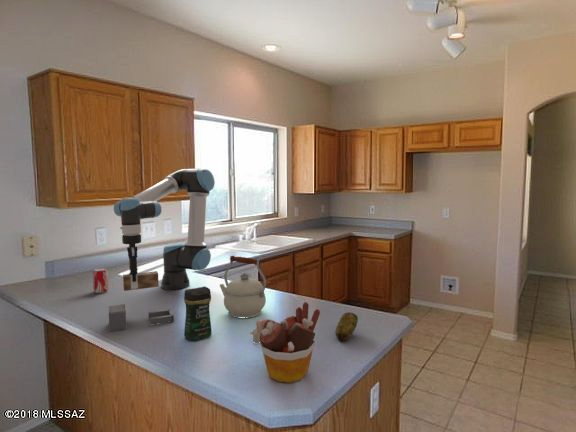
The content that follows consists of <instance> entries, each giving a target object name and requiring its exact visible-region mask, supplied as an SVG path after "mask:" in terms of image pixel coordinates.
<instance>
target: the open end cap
mask: <svg viewBox="0 0 576 432" xmlns="http://www.w3.org/2000/svg"><path fill="white" fill-rule="evenodd" d="M147 314H148V319H149V322H150V325H151V324H154V325H158V324H157V323H161V324H164V323H163V322H167V323H169V322H168V321H174V320H175V318H174V317H175V316H174V314H173V311H172V310H171V308H170V309H169V308H168V309H163V310H162V309H161V310H153V311H148V313H147ZM174 322H175V321H174Z"/></svg>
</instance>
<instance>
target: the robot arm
mask: <svg viewBox="0 0 576 432" xmlns="http://www.w3.org/2000/svg"><path fill="white" fill-rule="evenodd" d="M215 184H216V182H215V177H214V175H213V173H212V171H211V170H209V169H207V168H183V169H179V170H177V171H175V172H172V173H170V174H168V175H167V176H165V177H163V180H160V182H158V183H155V184H154V185H152V186H150V187H148V188H147V189H144V190H143V191H141V192H139V193H137V194H135V195H133V196H132V197H128V198H127V197H126V198H122V199H120V200H118V201H116V202H115V203H114V205H113V212H114V214H115V216H117V217H120V218H121V219H120V220H121V226H120V228H119V229H120V230H121V234H122V235H121V240H122V244H123V245H128V247H126V251H127V256H128V260H129V261H128V262H129V265H128V266H129V273H128V274H129V275H130V277H131V289H136V290H138V289H137V288H138V279H137V273H139V272H138V262H137V258H138V246H136V245H137V244H140V243H142V234H141V233H142V228H141V227H142V226H141V220H144V219H145V220H146V219H151V218H152V219H154V218H157V217H159V216H160V215H162V205H161V204H160V202H158V201H159V200H161V199H163V198H165V197H166V196H168V195H170V194H175V193H177V192H179V191H180V192H181V191H186V193H187V195H188V196H189V209H188V225H187V226H188V229H187V241H186V242H185V243H176V244H175V243H174V244H169V245H166V246H164V248H163V253H162V256H163V274H162V278H161V282H160V287H161V289H164V290H180V289H185V288H187V287H189V286H190V283H191V282H190V278H189V276H188V273H187V270H193V271H203V270H205V269H206V268H207V267H208V266H209V264H210V262H211V258H212V253H211V251H210V249H209V248H207V247H208V245H207V243H206V242H205V233H206V231H205V230H206V212H207V211H206V210H207V198H208V197H209V195H210V191H212V190H213V189H214V187H215Z"/></svg>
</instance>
